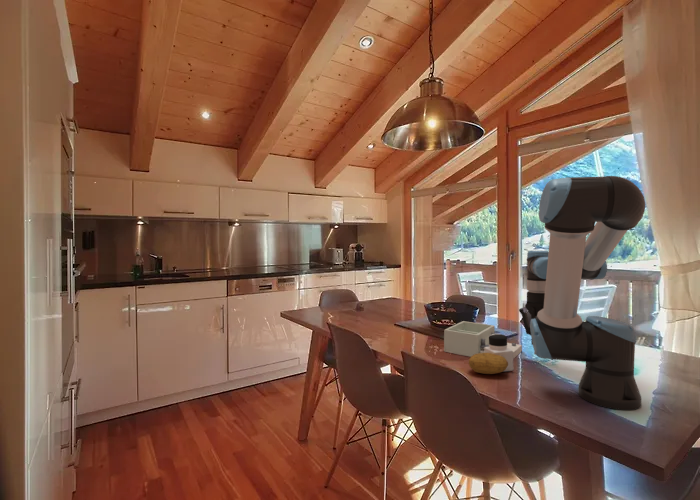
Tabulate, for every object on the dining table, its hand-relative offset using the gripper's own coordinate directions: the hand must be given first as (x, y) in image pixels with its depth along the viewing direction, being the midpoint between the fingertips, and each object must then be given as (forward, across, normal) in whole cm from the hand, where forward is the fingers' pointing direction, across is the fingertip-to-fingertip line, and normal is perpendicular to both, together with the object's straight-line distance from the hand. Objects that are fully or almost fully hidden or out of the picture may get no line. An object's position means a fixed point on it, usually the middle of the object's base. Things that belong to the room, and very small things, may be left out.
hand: (537, 353), depth 143 cm
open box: (+3, +24, -1) cm, 25 cm away
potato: (+3, +11, +24) cm, 26 cm away
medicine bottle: (+3, +9, +17) cm, 19 cm away
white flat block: (+3, +14, -2) cm, 14 cm away
